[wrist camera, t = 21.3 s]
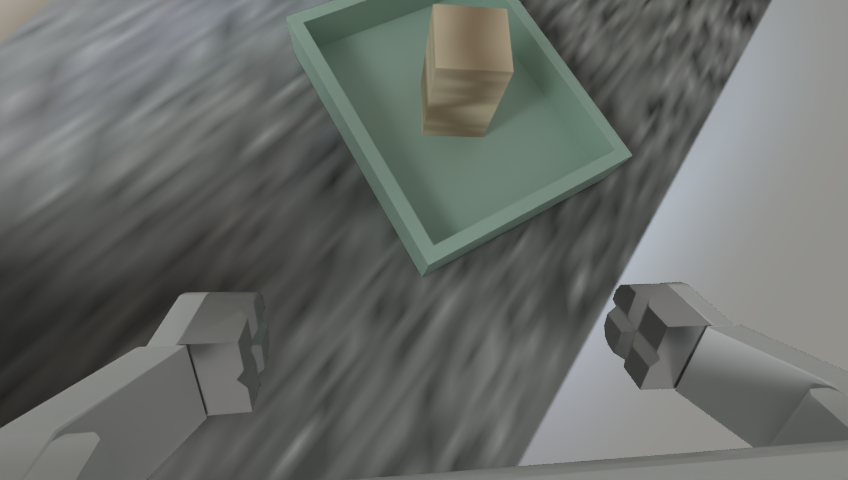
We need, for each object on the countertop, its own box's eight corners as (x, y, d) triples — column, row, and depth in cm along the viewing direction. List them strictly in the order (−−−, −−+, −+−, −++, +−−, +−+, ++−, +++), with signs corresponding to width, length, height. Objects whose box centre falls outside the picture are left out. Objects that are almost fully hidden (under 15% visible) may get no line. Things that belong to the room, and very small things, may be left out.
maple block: (422, 135, 34) (435, 68, 26) (420, 82, 35) (432, 3, 27) (482, 137, 34) (513, 71, 26) (478, 85, 36) (507, 8, 28)
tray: (295, 54, 36) (285, 17, 32) (471, -11, 40) (481, -51, 36) (421, 277, 31) (428, 265, 27) (605, 177, 35) (632, 155, 32)
